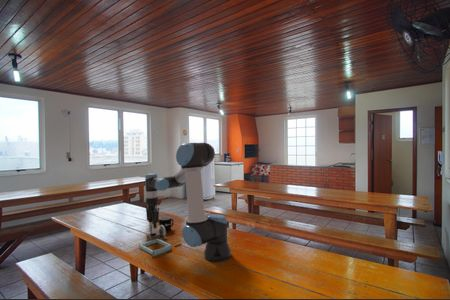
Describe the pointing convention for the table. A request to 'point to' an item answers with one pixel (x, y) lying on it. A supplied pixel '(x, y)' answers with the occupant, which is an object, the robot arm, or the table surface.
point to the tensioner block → (157, 234)
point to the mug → (166, 222)
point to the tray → (158, 251)
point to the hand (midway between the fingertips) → (153, 232)
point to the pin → (151, 228)
